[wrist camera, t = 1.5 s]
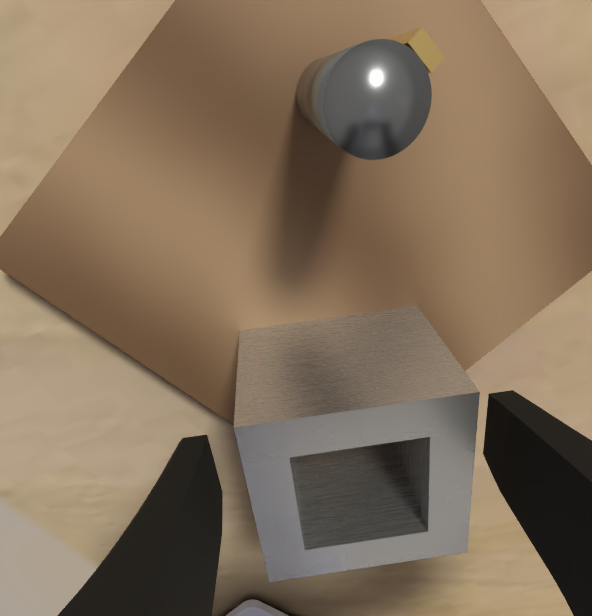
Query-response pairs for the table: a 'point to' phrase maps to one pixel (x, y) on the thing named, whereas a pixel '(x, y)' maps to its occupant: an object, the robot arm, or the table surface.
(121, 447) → the table surface
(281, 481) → the grey square sleeve
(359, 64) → the shaft stub
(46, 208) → the copper plate
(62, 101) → the table surface
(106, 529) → the table surface
